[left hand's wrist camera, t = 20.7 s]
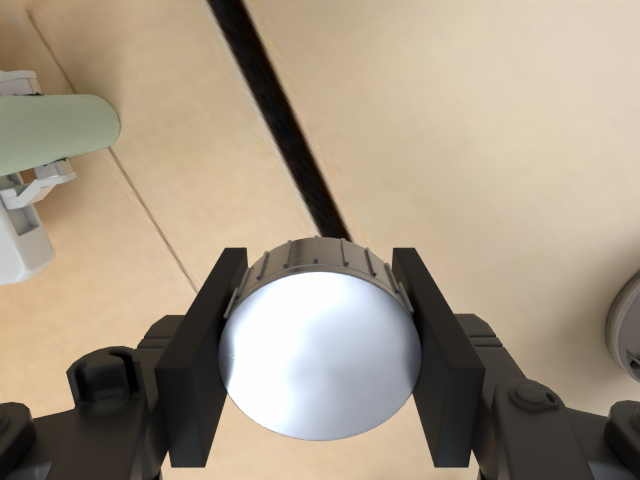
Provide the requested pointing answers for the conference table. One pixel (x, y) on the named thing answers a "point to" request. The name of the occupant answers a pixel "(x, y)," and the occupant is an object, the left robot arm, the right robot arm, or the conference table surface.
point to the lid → (319, 341)
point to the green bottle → (53, 129)
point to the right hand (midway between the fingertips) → (51, 126)
